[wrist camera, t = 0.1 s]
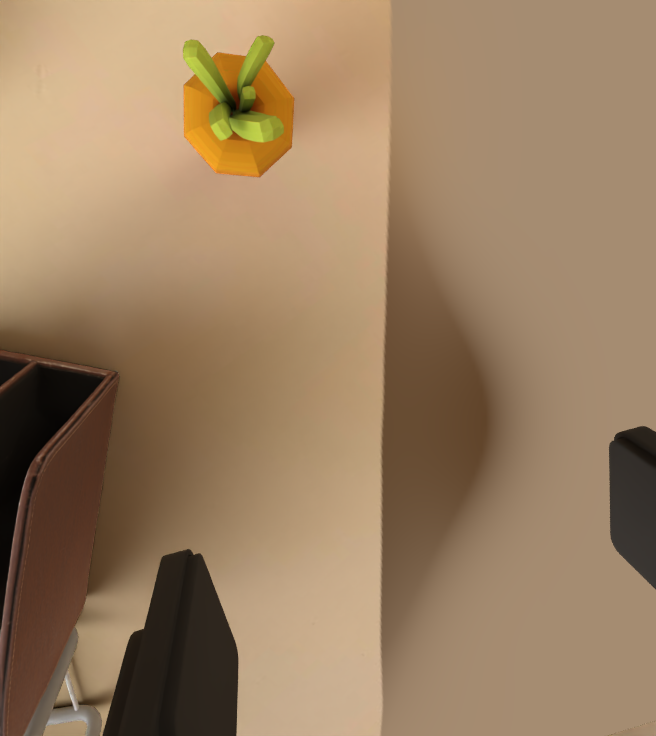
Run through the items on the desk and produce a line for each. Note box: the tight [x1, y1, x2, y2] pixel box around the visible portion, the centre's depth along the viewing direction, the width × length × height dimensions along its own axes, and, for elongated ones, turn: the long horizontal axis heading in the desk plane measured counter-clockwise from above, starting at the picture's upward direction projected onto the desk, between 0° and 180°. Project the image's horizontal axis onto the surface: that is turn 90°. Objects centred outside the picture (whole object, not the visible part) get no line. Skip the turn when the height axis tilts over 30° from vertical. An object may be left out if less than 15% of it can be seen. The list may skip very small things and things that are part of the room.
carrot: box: [183, 35, 294, 177], centre depth 24 cm, size 5×5×15 cm
